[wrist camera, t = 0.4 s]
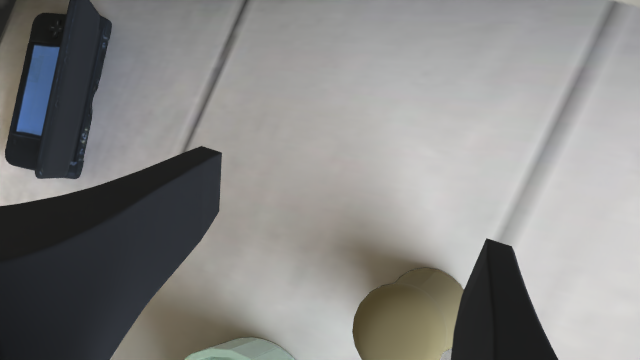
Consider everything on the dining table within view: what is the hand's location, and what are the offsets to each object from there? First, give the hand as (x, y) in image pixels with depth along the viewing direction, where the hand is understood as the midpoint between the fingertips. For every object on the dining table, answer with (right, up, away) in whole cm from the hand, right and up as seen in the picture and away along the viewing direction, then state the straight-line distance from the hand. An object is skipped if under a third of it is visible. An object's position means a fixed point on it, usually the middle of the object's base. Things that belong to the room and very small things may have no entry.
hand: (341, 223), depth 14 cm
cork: (+7, -8, +25) cm, 27 cm away
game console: (-24, +9, +39) cm, 46 cm away
